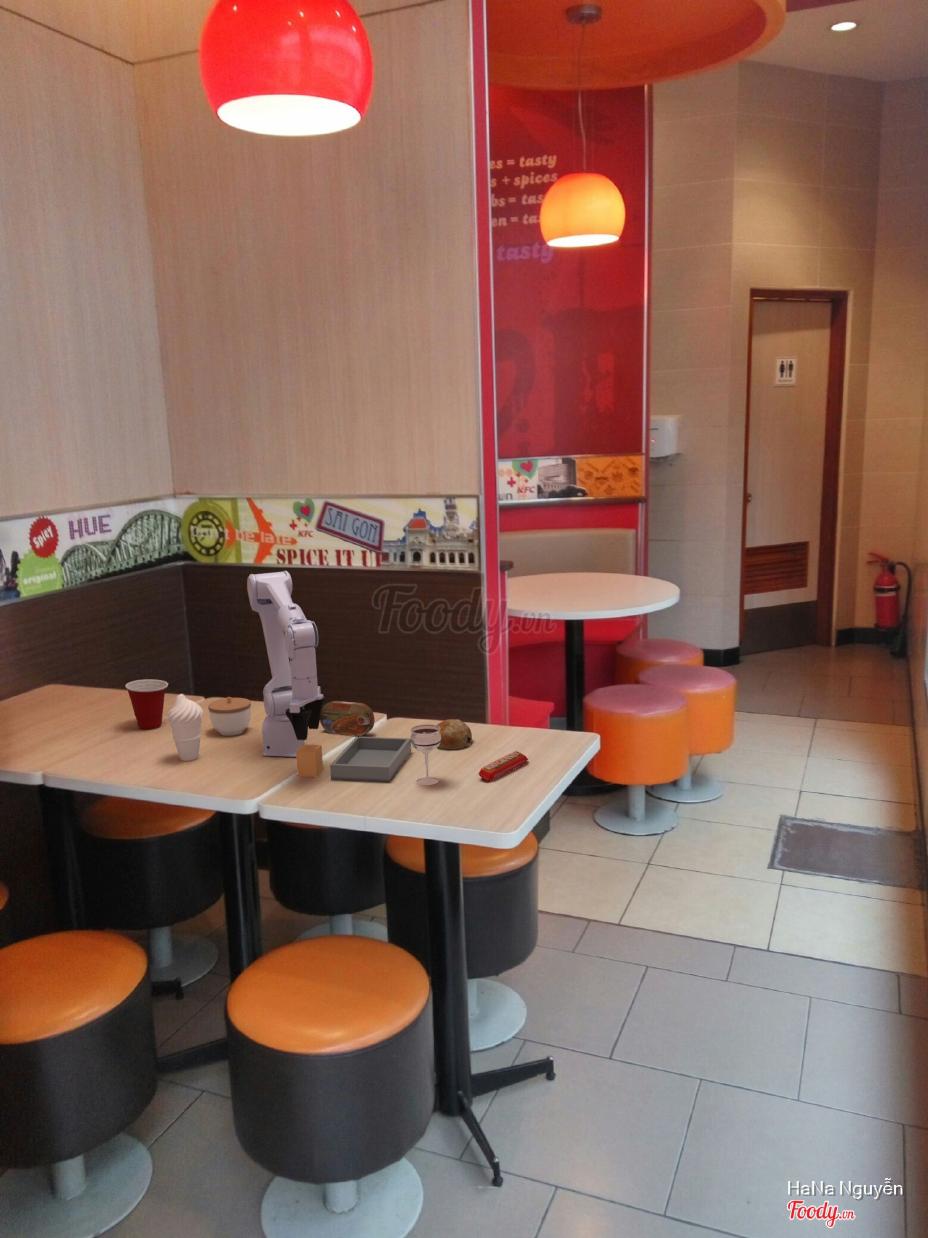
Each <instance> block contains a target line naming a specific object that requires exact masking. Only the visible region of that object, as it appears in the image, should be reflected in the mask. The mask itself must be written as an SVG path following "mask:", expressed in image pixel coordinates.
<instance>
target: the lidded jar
mask: <svg viewBox="0 0 928 1238" xmlns="http://www.w3.org/2000/svg"><path fill="white" fill-rule="evenodd" d="M251 706H252V702H251V700H249V699H248V698H242V697H231V696H227V697H226V698H220V699H218V700H214V701H211V702H210V703H209V704H208V708H207V709H208V711H209V712H208V713H209V718H210V719H209V720H210V722H211V726H212V727H213V728H214V729H215V730H216V732H218V733H219V735H220V736H225V737H227V736H228V737H230V736H236V735H240V734H242V733H244V731H245V729H246V728H247V727H248V726H249V724H250V721H251V715H252V707H251Z"/></svg>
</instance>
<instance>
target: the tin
mask: <svg viewBox="0 0 928 1238" xmlns="http://www.w3.org/2000/svg"><path fill="white" fill-rule="evenodd" d="M375 719H376V718H375V715H374V712H373V710H372V708H371V707H370V706H369V705H367V704H365V703H362V702H352V701H351V702H349V701H340V700H338V701H337V700H334V701H330V702H327V703H324V705H323V707H322V711H321V716H320V722H319V724H320V726H321V727H322V729H324V731H325V732H326V733H329V734H331V733H332V734H331V735H338V734H339V735H340V736H348V735H354V736H353V737H358V736H359V737H364V736H365V735H367V734H369V732H371V731H372V730H373V728H374V726H375V723H376V722H375ZM339 735H338V736H339Z"/></svg>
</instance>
